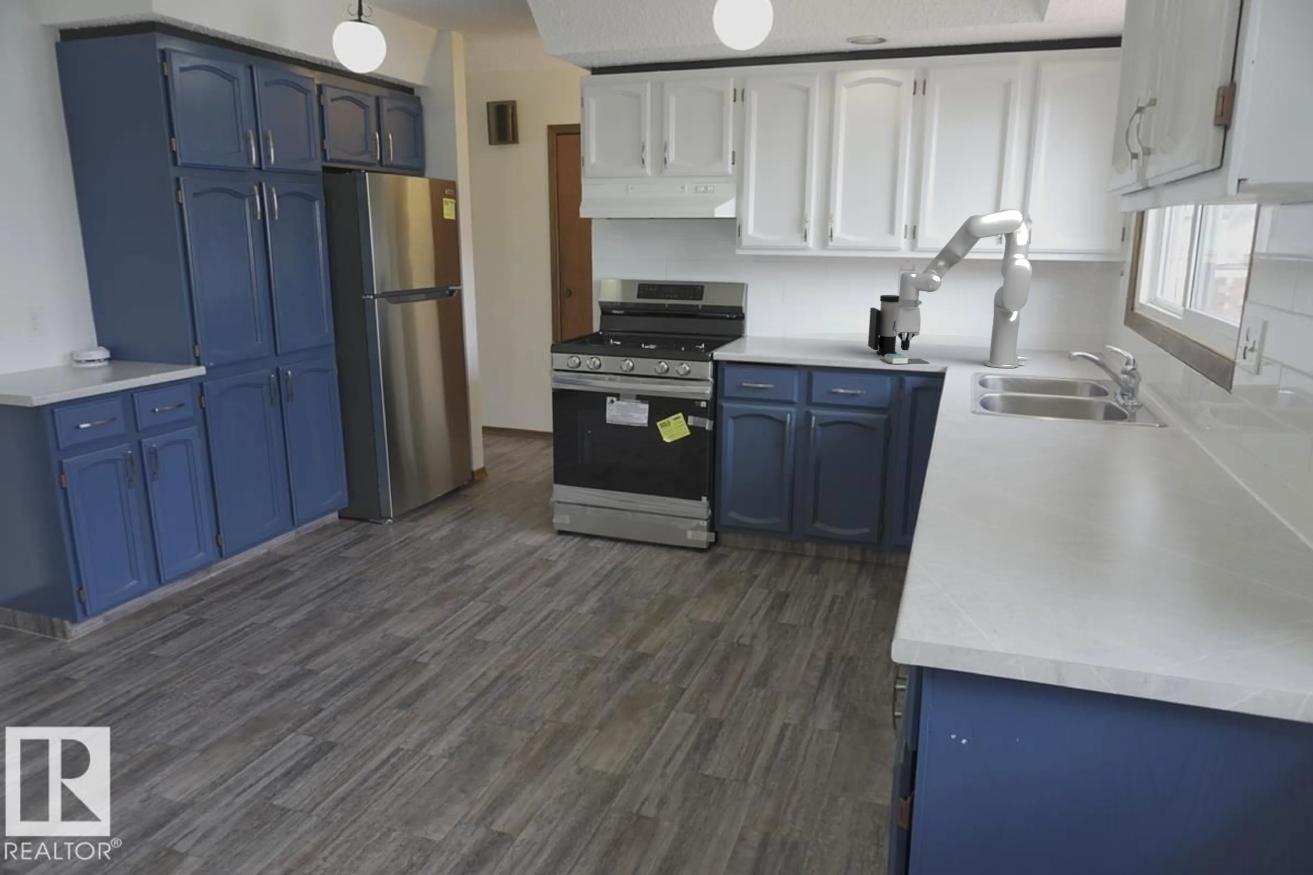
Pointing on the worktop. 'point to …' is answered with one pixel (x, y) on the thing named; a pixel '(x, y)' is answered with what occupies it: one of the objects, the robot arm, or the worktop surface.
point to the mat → (910, 361)
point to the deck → (896, 358)
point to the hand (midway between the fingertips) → (904, 350)
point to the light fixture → (883, 326)
